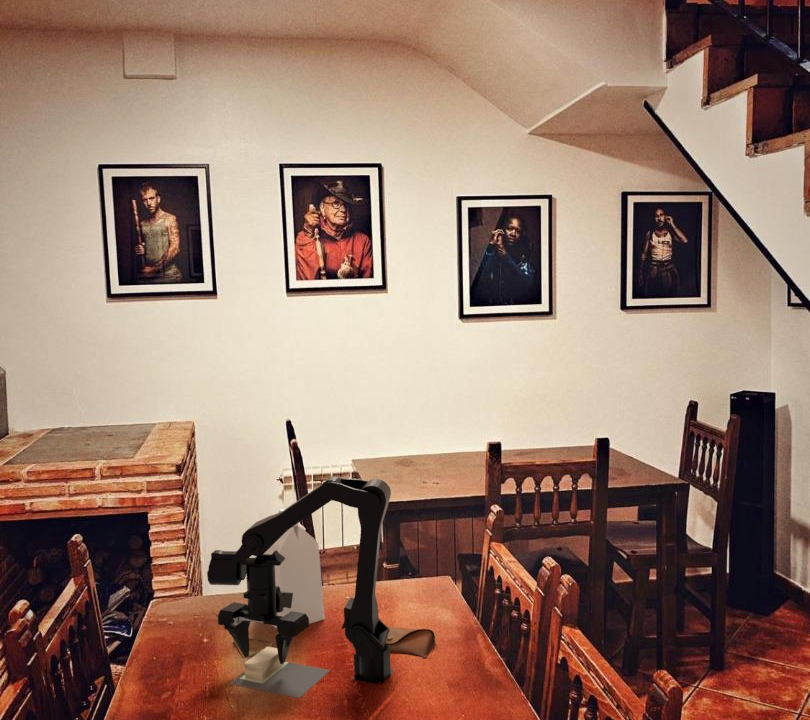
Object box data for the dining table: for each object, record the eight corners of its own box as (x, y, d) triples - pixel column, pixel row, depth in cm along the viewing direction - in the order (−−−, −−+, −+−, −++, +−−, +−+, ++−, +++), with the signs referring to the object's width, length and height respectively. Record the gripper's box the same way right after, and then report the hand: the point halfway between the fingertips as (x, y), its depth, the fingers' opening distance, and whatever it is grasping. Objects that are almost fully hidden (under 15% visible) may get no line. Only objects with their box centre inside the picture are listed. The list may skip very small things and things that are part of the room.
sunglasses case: (346, 653, 164) (350, 620, 167) (354, 657, 170) (357, 625, 173) (429, 659, 161) (431, 625, 164) (434, 662, 167) (436, 630, 170)
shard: (233, 643, 172) (232, 635, 172) (266, 636, 175) (266, 629, 175) (242, 662, 162) (241, 654, 162) (277, 655, 165) (277, 647, 165)
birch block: (261, 680, 152) (261, 666, 152) (245, 677, 153) (244, 662, 153) (284, 663, 159) (283, 649, 159) (267, 660, 161) (267, 646, 160)
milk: (258, 616, 186) (253, 511, 184) (300, 604, 193) (296, 502, 191) (281, 632, 176) (277, 521, 175) (324, 619, 183) (320, 512, 182)
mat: (330, 673, 156) (330, 669, 156) (299, 701, 145) (299, 697, 145) (264, 660, 162) (264, 657, 162) (229, 686, 151) (229, 682, 151)
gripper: (321, 577, 159) (324, 650, 160) (246, 567, 166) (249, 637, 167) (292, 596, 148) (295, 674, 149) (214, 584, 156) (217, 659, 157)
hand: (264, 659), depth 156 cm, fingers open, 8 cm apart
